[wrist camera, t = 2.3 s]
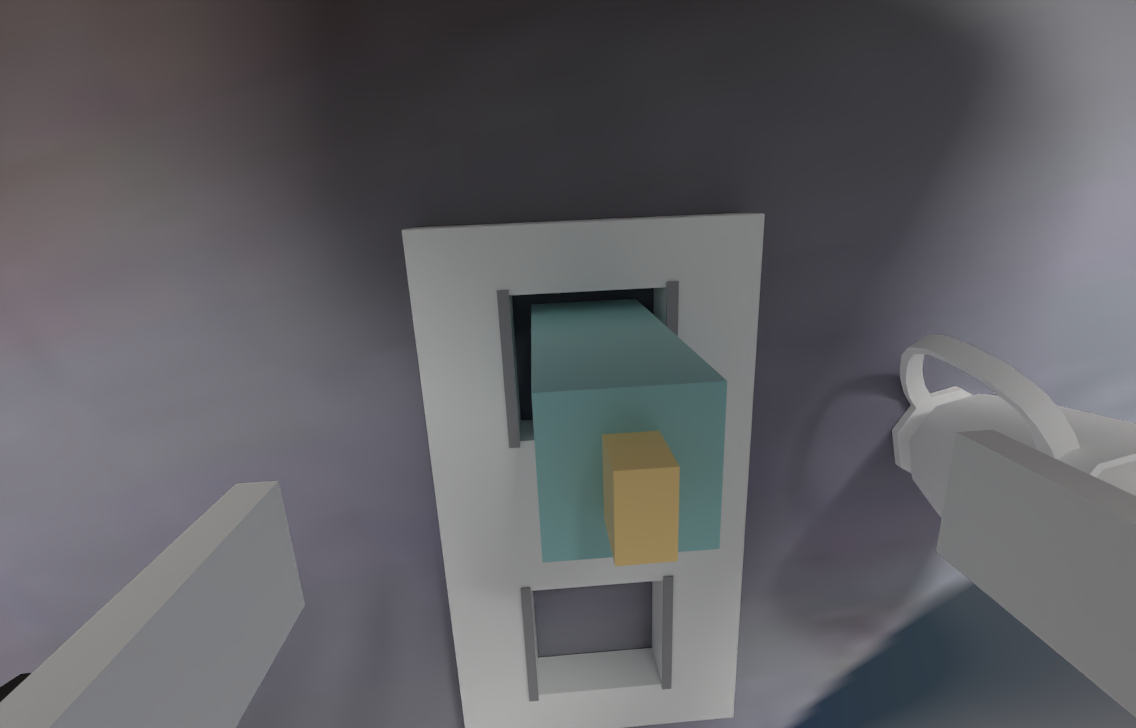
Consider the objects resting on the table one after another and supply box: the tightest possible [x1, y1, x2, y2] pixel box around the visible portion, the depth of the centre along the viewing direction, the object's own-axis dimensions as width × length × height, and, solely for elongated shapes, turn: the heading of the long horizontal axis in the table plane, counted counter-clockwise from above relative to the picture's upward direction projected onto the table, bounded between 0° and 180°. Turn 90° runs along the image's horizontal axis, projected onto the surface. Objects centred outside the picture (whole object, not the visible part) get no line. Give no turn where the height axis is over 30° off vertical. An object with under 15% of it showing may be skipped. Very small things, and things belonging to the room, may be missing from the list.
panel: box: [402, 213, 765, 728], centre depth 22 cm, size 22×12×2 cm, turn 2°
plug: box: [531, 299, 727, 566], centre depth 15 cm, size 4×4×12 cm
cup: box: [892, 334, 1136, 518], centre depth 19 cm, size 7×10×8 cm
